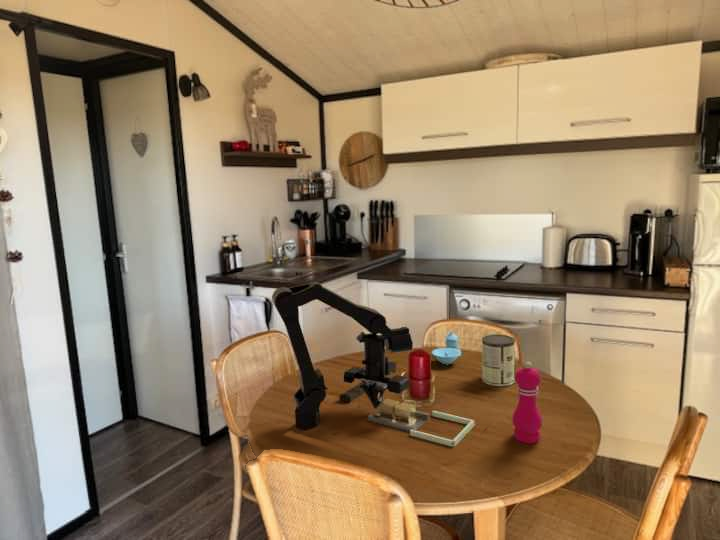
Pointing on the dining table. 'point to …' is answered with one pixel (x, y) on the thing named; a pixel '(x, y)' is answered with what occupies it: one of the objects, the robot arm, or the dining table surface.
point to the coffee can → (498, 360)
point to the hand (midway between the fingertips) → (376, 408)
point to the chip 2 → (405, 413)
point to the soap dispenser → (448, 350)
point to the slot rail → (420, 420)
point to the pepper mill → (527, 405)
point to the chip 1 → (388, 408)
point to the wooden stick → (351, 394)
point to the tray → (445, 441)
